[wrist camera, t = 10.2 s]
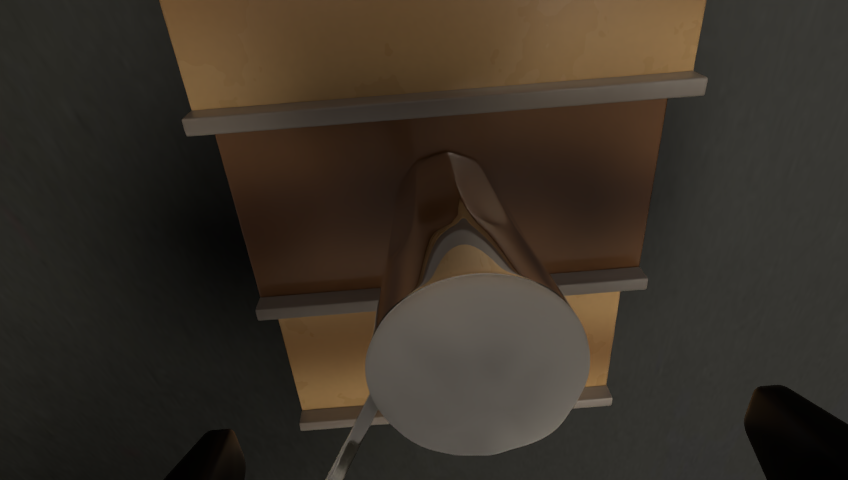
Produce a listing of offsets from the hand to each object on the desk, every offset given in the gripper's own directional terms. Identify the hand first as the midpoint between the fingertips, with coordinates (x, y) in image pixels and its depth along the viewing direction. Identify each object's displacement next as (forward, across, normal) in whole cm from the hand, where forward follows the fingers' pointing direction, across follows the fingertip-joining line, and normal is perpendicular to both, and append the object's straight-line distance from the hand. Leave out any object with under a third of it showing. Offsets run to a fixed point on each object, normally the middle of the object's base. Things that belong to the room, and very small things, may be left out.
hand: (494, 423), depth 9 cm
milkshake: (+10, 0, 0) cm, 10 cm away
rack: (+12, 0, +1) cm, 12 cm away
